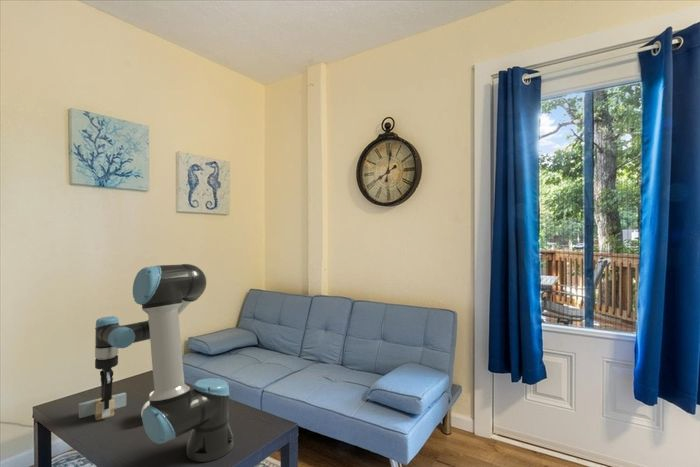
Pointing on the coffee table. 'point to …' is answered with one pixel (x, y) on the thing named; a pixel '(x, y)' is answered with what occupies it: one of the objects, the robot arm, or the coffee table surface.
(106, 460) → the coffee table surface
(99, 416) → the block
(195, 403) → the robot arm
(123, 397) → the board
